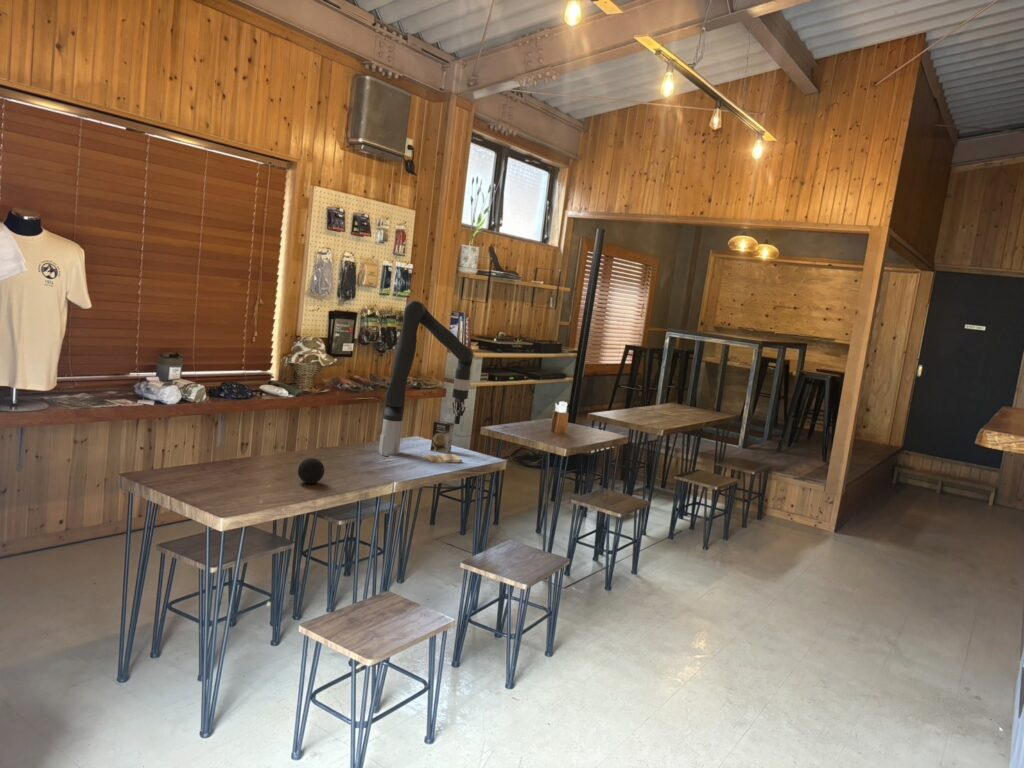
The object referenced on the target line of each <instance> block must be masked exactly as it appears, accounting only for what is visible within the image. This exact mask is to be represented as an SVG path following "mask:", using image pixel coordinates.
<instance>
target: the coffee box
mask: <svg viewBox="0 0 1024 768" xmlns="http://www.w3.org/2000/svg"><path fill="white" fill-rule="evenodd" d="M454 426H455V423H454V422H448V421H444V420H434V421H433V425H432V434H431V444H430V452H436V453H441V454H444V455H448V454H449V453H451V452H452V442H453V435H454V428H455V427H454Z"/></svg>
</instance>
